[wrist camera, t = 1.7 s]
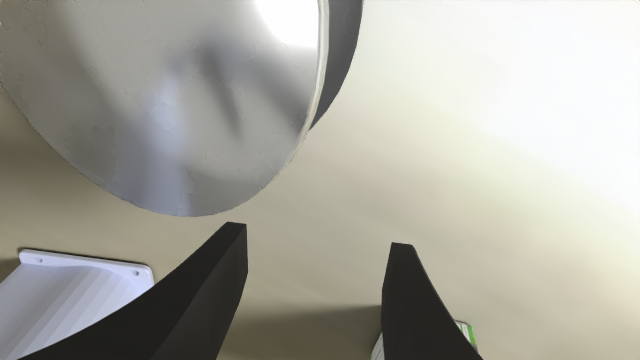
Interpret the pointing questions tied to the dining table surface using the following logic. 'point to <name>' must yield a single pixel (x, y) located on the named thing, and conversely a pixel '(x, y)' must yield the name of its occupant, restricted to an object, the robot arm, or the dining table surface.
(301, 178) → the dining table surface
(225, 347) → the dining table surface
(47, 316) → the robot arm
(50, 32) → the cooker lid
